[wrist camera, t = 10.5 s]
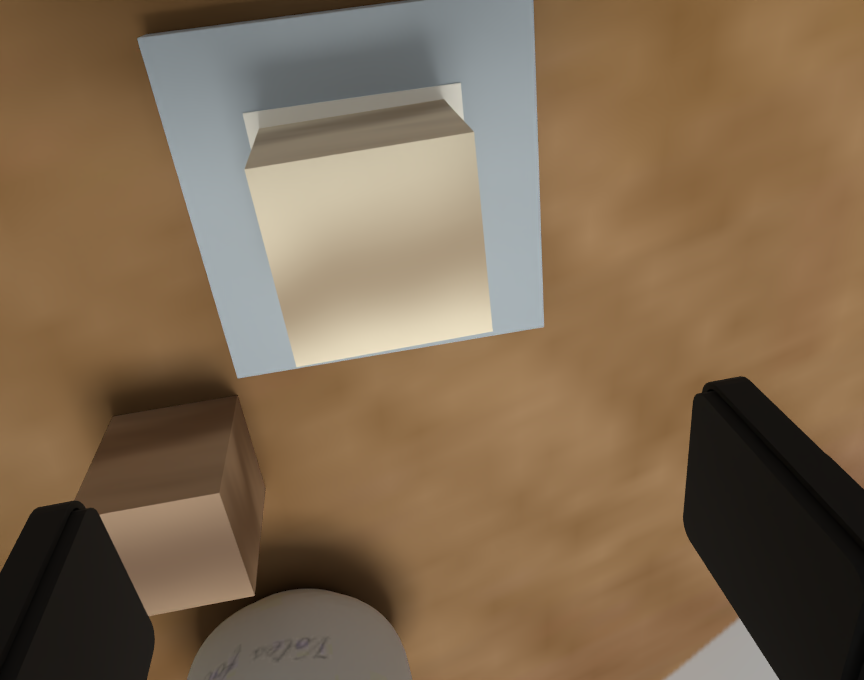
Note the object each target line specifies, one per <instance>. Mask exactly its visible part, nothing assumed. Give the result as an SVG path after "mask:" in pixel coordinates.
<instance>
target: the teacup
mask: <svg viewBox="0 0 864 680" xmlns="http://www.w3.org/2000/svg"><path fill="white" fill-rule="evenodd" d="M187 680H412V676H411V672H410V668H409V664H408V660H407V656H406V653H405V650H404V647H403V645H402V643H401V640H400V638H399V636H398V634H397V633H396V631H395V629H394V628H393V626H392V625H391V624H390V623H389V622H388V620H387V619H386V618H385V617H384V616H383V615H382V614H381V613H379V612H378V611H377V610H376V609H374V608H373V607H371V606H370V605H368V604H366V603H364V602H362V601H360V600H358V599H356V598H353V597H350V596H347V595H343V594H339V593H336V592H332V591H327V590H321V589H295V590H288V591H284V592H279V593H276V594H273V595H270V596H268V597H265V598H263V599H261V600H259V601H257V602H255V603H252V604H250V605H248V606H246V607H244V608H242V609H241V610H239V611H237V612H236V613H234V614H233V615H231V616H230V617H229V618H227V619H226V620H225V621H223V622H222V623H221V624H220V625H219V626H218V627H217V628H215V630H214V631H213V632H212V633H211V634H210V635H209V636H208V638H207V639H206V640H205V642H204V643H203V644H202V646H201V647H200V649H199V651H198V652H197V654H196V656H195V659H194V661H193V663H192V666H191V668H190V671H189V674H188V678H187Z"/></svg>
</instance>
